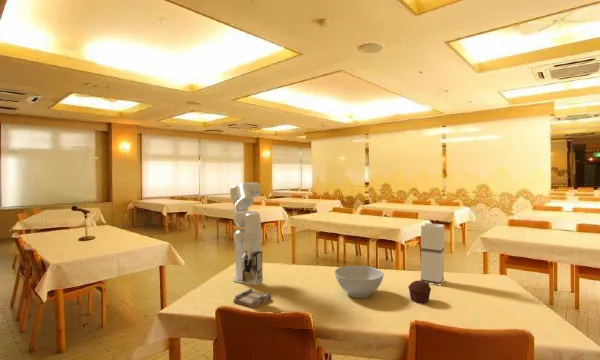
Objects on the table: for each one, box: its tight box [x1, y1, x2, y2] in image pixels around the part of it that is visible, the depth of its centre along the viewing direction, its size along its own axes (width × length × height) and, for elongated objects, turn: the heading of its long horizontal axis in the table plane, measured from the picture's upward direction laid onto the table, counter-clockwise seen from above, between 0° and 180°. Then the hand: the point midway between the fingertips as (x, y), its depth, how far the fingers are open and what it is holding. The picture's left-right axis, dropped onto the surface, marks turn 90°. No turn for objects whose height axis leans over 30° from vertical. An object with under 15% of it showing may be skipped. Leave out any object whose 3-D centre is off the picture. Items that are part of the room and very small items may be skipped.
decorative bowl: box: [334, 264, 384, 299], centre depth 188 cm, size 27×27×12 cm
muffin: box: [408, 280, 432, 304], centre depth 178 cm, size 12×11×10 cm
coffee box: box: [242, 252, 264, 286], centre depth 178 cm, size 9×6×16 cm
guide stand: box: [233, 288, 272, 309], centre depth 178 cm, size 14×14×4 cm
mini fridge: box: [420, 222, 445, 284], centre depth 206 cm, size 11×11×35 cm
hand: (252, 269), depth 178 cm, fingers closed on coffee box, 7 cm apart
